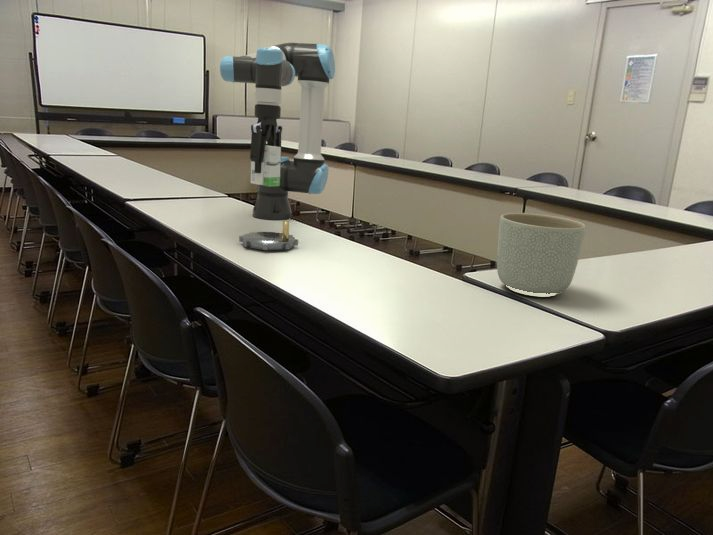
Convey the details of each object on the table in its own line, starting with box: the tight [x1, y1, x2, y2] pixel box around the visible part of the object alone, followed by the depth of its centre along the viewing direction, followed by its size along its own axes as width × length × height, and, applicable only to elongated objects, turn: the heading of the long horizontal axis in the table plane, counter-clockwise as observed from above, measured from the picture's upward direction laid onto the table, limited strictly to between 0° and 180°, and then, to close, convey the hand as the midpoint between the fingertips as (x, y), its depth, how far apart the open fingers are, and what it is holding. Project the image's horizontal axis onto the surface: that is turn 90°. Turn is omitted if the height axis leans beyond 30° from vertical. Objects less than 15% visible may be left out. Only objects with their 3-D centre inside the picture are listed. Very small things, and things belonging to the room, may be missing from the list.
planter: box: [496, 212, 587, 294], centre depth 148 cm, size 21×21×19 cm
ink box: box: [250, 144, 282, 186], centre depth 172 cm, size 9×5×12 cm, turn 49°
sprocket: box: [238, 220, 299, 251], centre depth 177 cm, size 18×18×8 cm
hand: (265, 183), depth 173 cm, fingers closed on ink box, 6 cm apart
